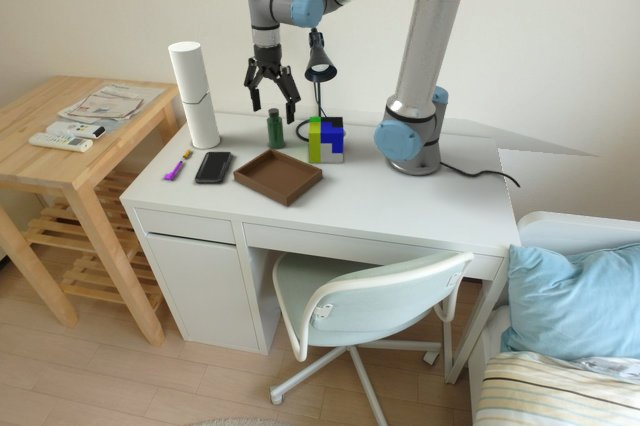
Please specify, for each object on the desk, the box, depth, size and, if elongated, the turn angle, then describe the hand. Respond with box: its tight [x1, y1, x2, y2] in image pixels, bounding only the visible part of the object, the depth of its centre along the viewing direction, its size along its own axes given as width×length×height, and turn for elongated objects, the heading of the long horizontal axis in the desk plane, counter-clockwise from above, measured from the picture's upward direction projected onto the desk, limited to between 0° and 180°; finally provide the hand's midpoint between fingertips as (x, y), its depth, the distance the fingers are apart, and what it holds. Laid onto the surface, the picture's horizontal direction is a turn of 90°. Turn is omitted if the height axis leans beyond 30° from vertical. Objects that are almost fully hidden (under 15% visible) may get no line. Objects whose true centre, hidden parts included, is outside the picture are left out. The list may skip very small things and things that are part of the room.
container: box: [167, 41, 221, 150], centre depth 114 cm, size 9×9×30 cm
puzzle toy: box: [308, 116, 345, 164], centre depth 114 cm, size 10×10×10 cm
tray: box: [232, 147, 323, 208], centre depth 107 cm, size 20×16×3 cm
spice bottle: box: [266, 107, 285, 150], centre depth 118 cm, size 5×5×12 cm
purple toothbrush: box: [163, 148, 192, 181], centre depth 113 cm, size 3×1×16 cm
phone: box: [194, 151, 233, 185], centre depth 111 cm, size 8×1×15 cm
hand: (273, 116), depth 115 cm, fingers open, 13 cm apart
